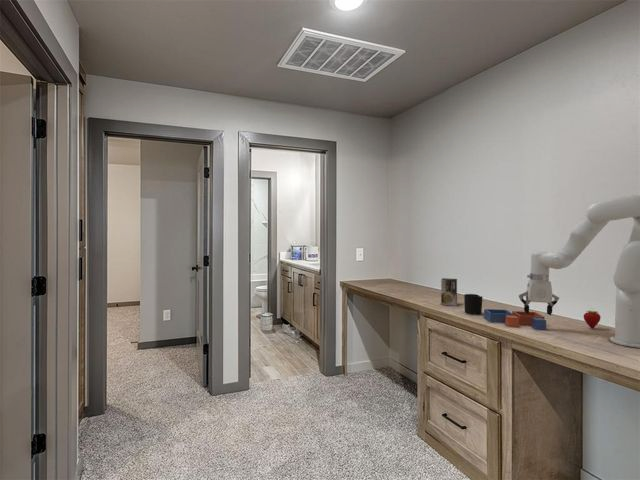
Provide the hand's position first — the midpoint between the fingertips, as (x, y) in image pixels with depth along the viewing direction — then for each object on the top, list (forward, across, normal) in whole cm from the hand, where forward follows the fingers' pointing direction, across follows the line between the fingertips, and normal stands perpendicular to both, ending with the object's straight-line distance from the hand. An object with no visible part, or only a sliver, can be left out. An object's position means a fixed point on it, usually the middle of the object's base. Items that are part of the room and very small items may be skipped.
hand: (537, 313), depth 176 cm
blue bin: (+7, -13, +14) cm, 20 cm away
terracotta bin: (+7, 0, +11) cm, 13 cm away
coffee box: (+8, -31, +52) cm, 61 cm away
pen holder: (+8, -22, +29) cm, 37 cm away
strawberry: (+7, +26, +5) cm, 27 cm away
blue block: (+7, +1, 0) cm, 7 cm away
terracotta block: (+7, -10, +3) cm, 13 cm away
